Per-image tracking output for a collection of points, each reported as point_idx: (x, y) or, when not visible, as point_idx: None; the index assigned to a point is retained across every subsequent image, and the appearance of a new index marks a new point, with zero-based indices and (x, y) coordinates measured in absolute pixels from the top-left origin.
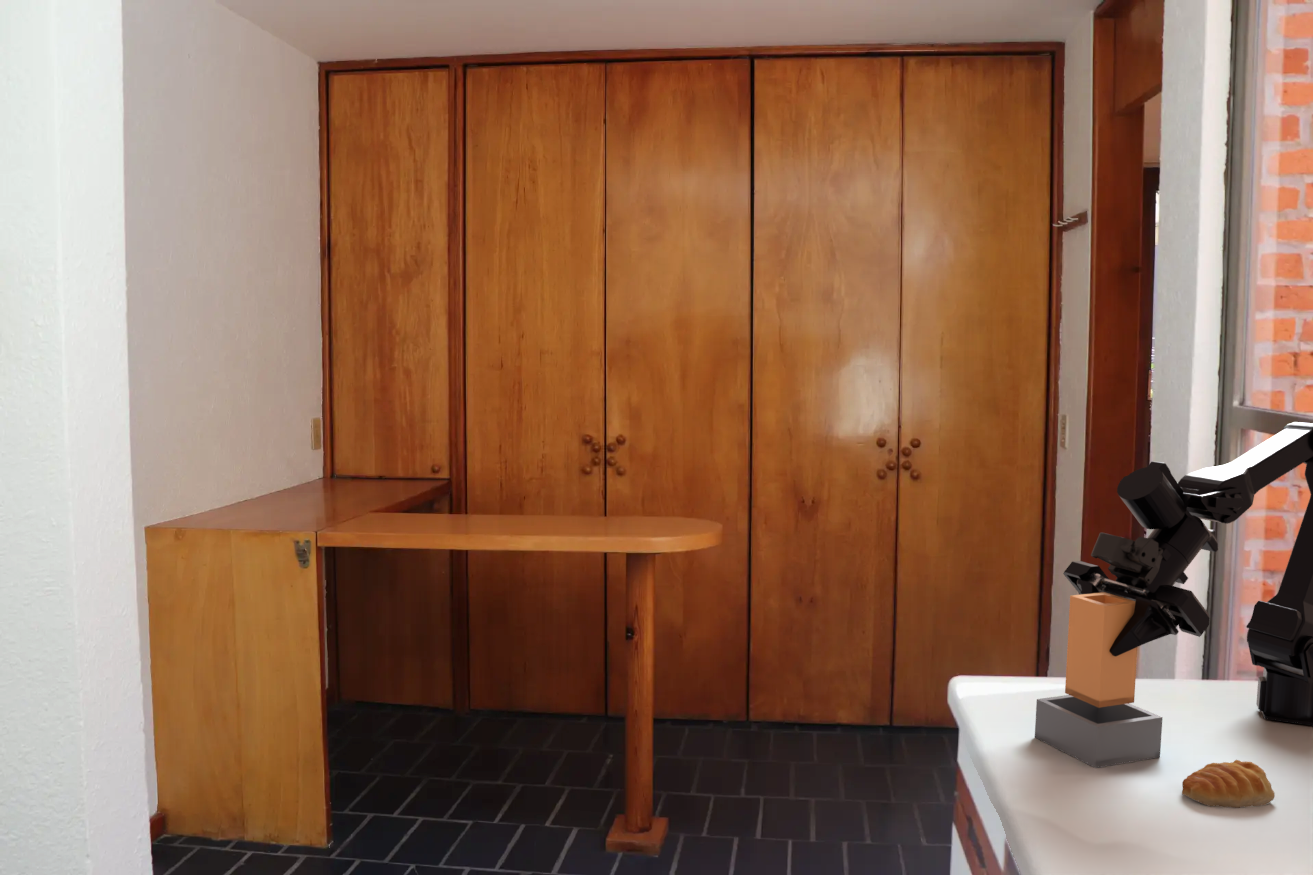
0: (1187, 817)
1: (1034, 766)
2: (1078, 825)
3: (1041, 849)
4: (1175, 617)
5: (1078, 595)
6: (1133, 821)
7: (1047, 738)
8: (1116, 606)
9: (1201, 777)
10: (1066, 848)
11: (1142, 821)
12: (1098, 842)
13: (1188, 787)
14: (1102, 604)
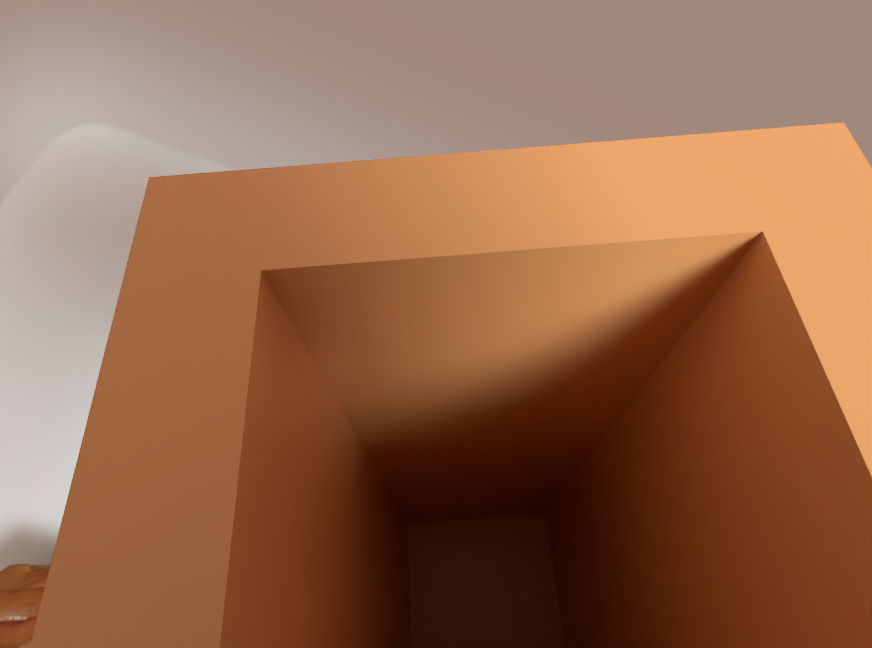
0: (12, 482)
1: None
2: (131, 234)
3: (108, 137)
4: None
5: (860, 227)
6: (79, 343)
7: None
8: (107, 402)
9: (8, 633)
10: (86, 170)
11: (67, 361)
12: (67, 226)
13: (40, 570)
14: (238, 214)
